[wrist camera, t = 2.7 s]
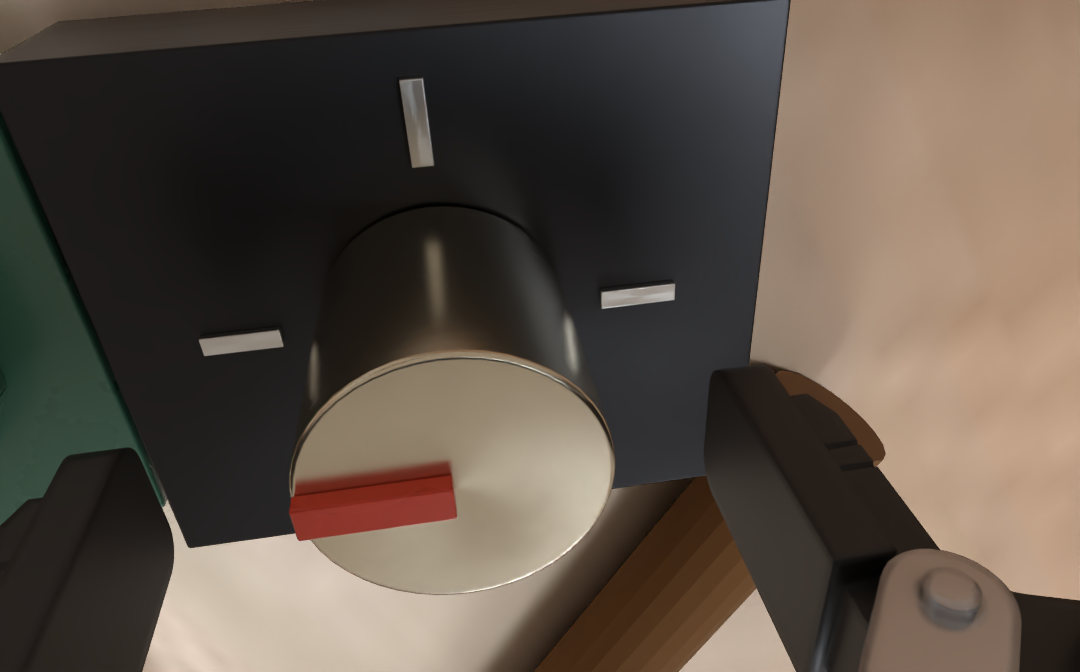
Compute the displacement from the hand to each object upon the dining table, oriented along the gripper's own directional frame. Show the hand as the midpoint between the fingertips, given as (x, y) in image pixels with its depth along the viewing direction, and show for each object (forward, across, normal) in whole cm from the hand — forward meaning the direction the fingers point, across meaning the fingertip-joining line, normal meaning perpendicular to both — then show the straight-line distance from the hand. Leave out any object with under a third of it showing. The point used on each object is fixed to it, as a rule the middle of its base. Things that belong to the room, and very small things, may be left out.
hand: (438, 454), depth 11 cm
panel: (+7, 0, 0) cm, 7 cm away
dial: (+4, 0, 0) cm, 4 cm away
